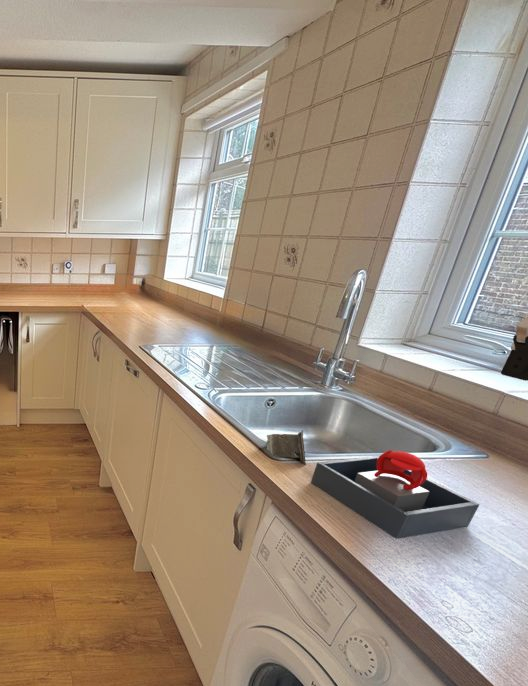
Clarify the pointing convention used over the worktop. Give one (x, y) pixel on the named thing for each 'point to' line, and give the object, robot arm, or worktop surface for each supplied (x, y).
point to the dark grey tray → (435, 515)
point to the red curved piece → (402, 467)
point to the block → (393, 490)
